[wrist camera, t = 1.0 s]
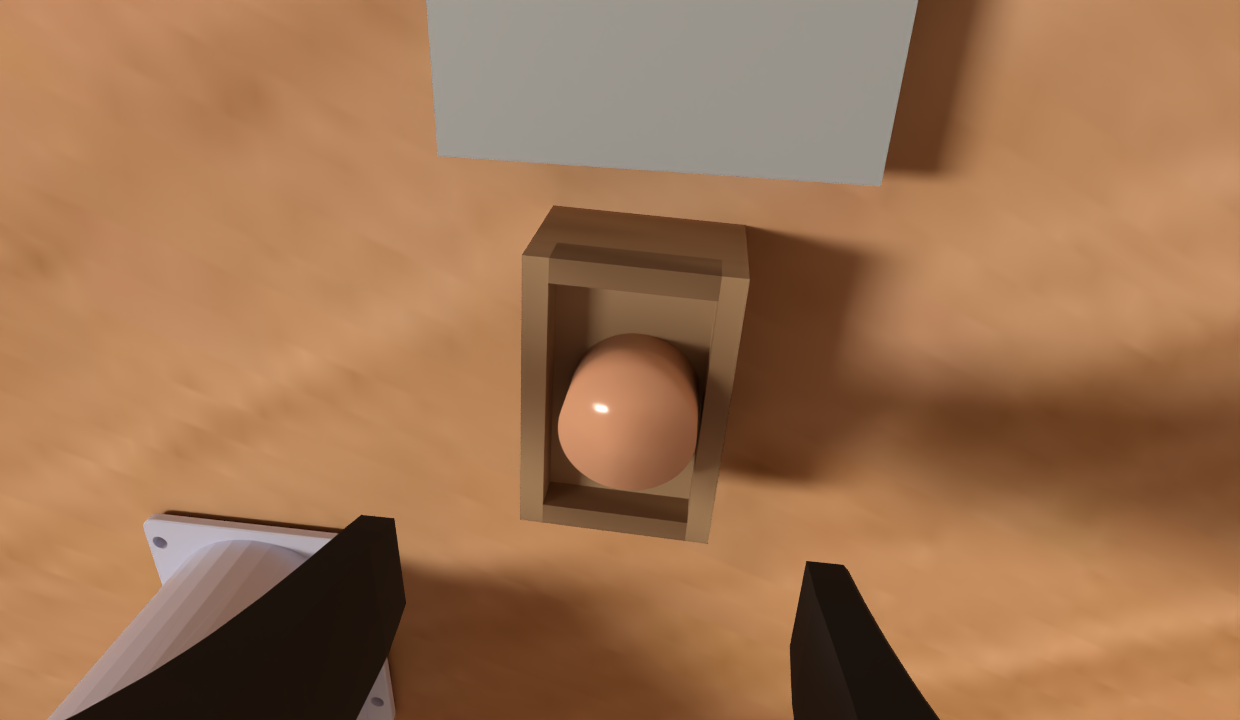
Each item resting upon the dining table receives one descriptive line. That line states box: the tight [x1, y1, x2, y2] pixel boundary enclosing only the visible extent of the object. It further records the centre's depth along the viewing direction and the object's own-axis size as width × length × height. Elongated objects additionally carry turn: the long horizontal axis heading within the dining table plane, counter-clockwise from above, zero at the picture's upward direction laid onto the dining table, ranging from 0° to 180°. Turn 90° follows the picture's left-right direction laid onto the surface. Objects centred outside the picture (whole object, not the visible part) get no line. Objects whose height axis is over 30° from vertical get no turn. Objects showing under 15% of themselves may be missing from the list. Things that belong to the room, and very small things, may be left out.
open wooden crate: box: [520, 206, 750, 544], centre depth 20 cm, size 8×5×4 cm, turn 176°
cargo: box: [558, 333, 699, 490], centre depth 19 cm, size 3×3×2 cm
